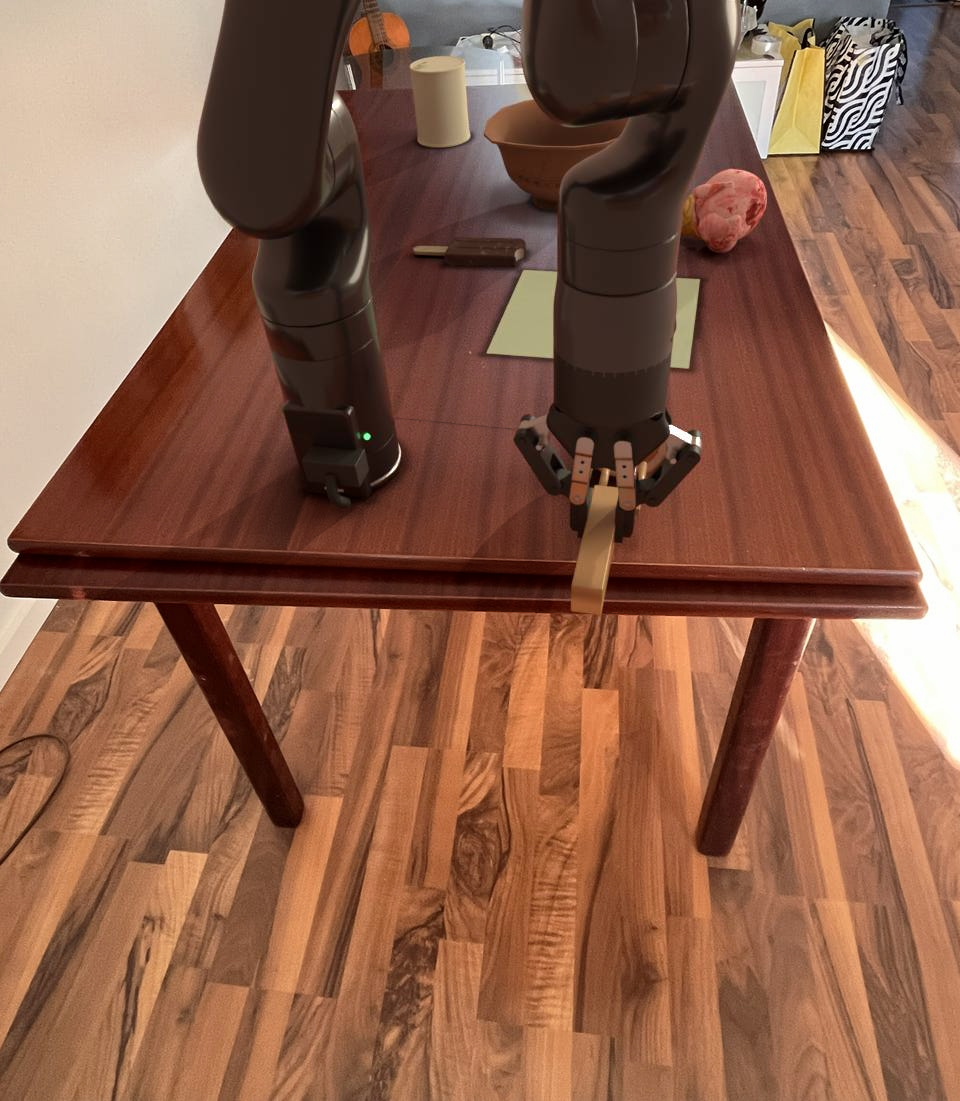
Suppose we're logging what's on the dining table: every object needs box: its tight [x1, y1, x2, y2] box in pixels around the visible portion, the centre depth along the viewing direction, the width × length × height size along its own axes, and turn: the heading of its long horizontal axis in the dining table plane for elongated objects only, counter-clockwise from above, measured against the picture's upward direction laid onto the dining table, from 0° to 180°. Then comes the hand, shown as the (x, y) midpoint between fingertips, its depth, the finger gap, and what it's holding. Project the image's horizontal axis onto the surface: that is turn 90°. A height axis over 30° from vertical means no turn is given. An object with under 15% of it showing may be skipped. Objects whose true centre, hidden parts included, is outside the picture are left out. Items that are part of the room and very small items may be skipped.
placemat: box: [486, 269, 701, 370], centre depth 94 cm, size 20×22×1 cm
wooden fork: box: [570, 461, 647, 616], centre depth 63 cm, size 17×5×3 cm, turn 166°
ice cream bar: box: [413, 236, 527, 268], centre depth 107 cm, size 5×2×15 cm
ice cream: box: [680, 168, 768, 254], centre depth 103 cm, size 11×10×15 cm
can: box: [409, 55, 471, 149], centre depth 136 cm, size 9×9×12 cm
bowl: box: [483, 98, 629, 212], centre depth 115 cm, size 22×22×11 cm
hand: (602, 532), depth 63 cm, fingers closed on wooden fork, 2 cm apart
